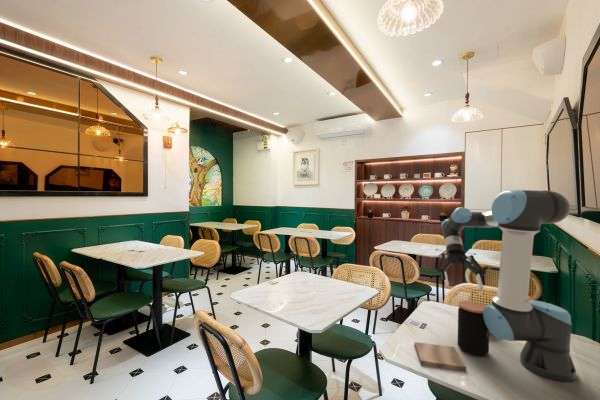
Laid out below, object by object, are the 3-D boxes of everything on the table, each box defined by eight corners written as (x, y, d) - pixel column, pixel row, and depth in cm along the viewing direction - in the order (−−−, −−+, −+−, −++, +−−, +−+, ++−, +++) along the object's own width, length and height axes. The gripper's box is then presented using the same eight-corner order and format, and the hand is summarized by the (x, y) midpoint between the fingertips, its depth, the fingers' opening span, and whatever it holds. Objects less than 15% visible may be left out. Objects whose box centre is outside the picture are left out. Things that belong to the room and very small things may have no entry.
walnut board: (454, 350, 110) (454, 347, 110) (466, 371, 97) (466, 367, 97) (414, 345, 113) (414, 341, 113) (420, 364, 101) (420, 360, 100)
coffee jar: (494, 359, 104) (495, 312, 104) (463, 355, 106) (464, 309, 106) (481, 344, 115) (482, 301, 114) (453, 341, 117) (454, 299, 117)
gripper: (480, 252, 135) (493, 294, 121) (425, 249, 140) (431, 288, 126) (485, 244, 129) (499, 286, 115) (428, 241, 135) (435, 281, 121)
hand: (464, 287), depth 121 cm, fingers open, 13 cm apart
